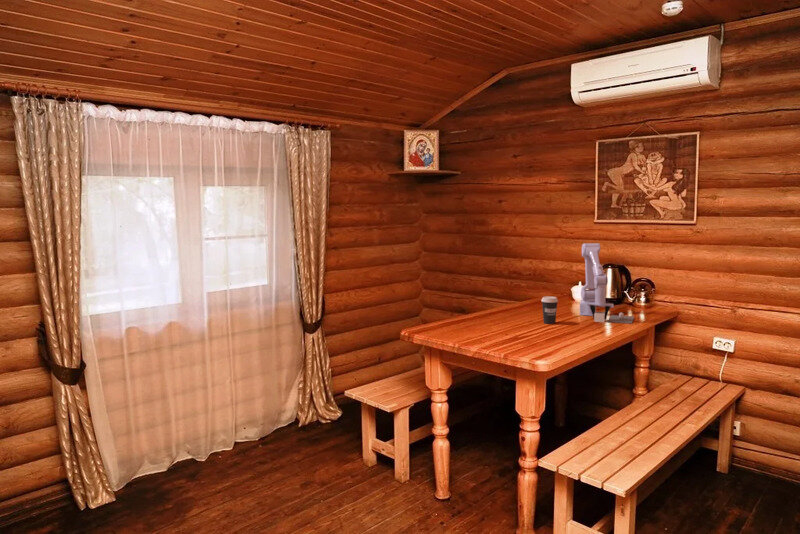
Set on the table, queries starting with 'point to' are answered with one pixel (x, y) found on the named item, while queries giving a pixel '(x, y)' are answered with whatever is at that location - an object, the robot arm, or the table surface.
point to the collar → (599, 317)
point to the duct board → (621, 319)
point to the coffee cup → (549, 309)
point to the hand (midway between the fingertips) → (599, 318)
